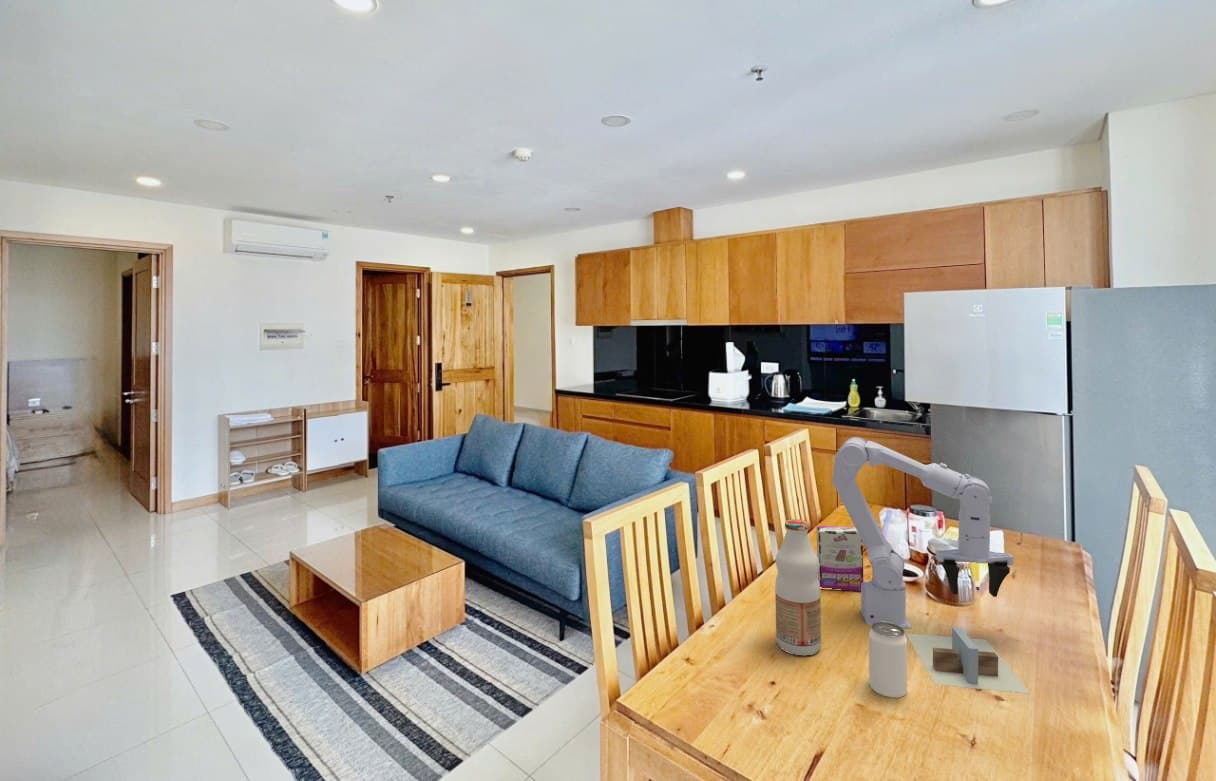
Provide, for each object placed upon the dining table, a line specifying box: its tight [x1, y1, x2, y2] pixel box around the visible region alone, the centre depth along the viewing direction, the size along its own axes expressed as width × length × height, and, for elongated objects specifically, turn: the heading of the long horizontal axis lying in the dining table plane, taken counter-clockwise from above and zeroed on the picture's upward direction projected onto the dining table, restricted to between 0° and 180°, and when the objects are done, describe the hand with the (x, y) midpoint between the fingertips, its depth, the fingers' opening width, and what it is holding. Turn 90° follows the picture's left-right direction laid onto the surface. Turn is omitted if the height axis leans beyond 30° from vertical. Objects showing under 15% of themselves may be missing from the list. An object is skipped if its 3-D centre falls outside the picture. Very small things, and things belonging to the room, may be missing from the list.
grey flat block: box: [951, 626, 978, 684], centre depth 108 cm, size 2×8×7 cm, turn 167°
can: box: [868, 622, 908, 699], centre depth 104 cm, size 6×6×12 cm
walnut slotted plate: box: [933, 648, 998, 677], centre depth 108 cm, size 11×2×4 cm, turn 76°
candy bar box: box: [816, 525, 864, 592], centre depth 147 cm, size 11×5×16 cm, turn 77°
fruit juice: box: [774, 518, 822, 657], centre depth 119 cm, size 9×9×28 cm
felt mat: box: [905, 633, 1032, 695], centre depth 112 cm, size 16×19×1 cm
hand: (973, 593), depth 120 cm, fingers open, 7 cm apart
